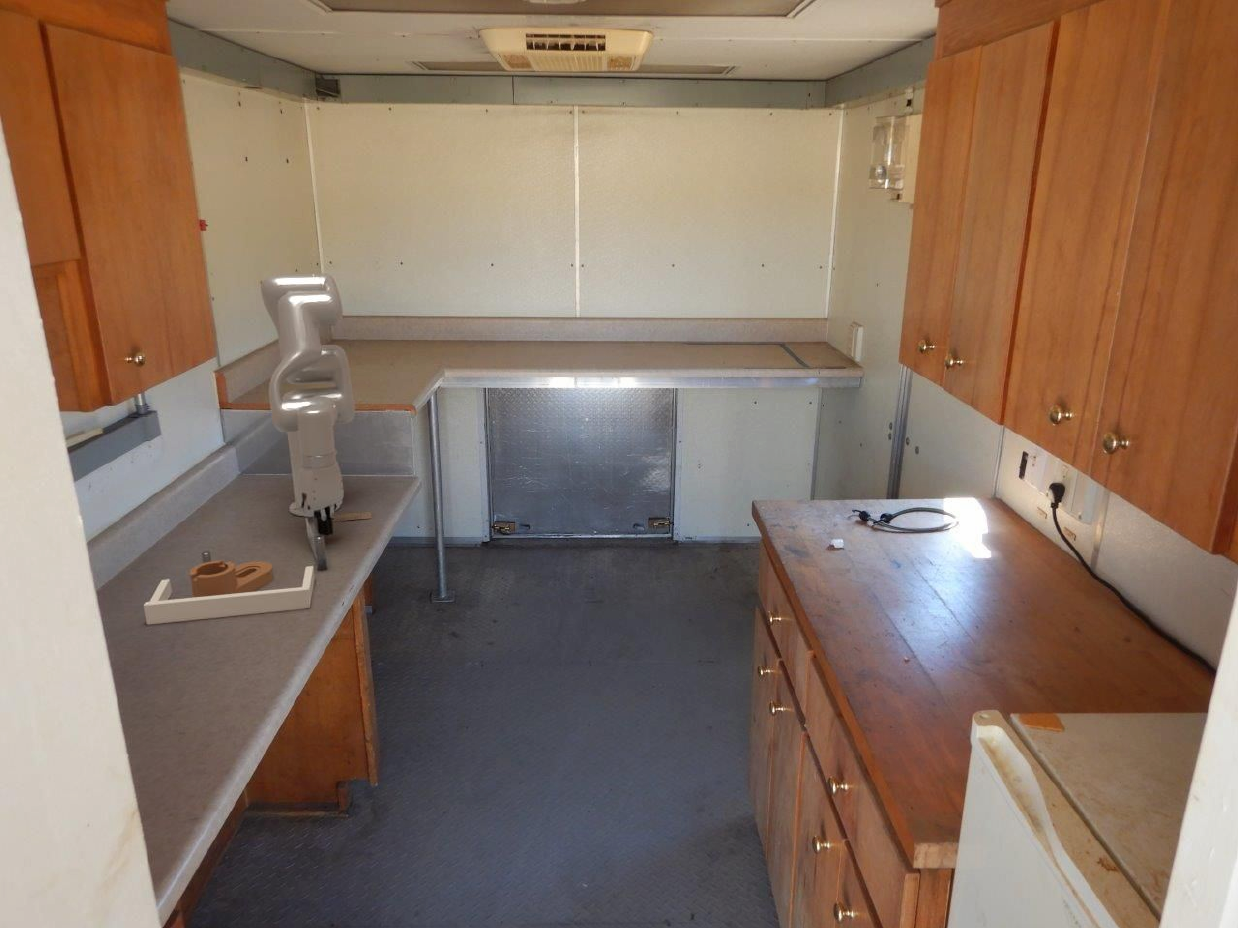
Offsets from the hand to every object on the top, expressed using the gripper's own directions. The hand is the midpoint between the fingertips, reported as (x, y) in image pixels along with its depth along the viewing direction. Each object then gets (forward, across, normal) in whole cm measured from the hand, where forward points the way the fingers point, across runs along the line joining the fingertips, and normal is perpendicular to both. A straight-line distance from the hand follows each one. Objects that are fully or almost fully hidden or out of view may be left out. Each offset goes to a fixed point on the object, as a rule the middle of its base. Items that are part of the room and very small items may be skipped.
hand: (325, 533), depth 205 cm
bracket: (+3, +27, +3) cm, 28 cm away
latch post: (+2, +26, -7) cm, 27 cm away
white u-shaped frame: (+2, +30, +6) cm, 31 cm away
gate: (+2, +5, +1) cm, 5 cm away
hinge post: (+2, +11, +10) cm, 15 cm away
